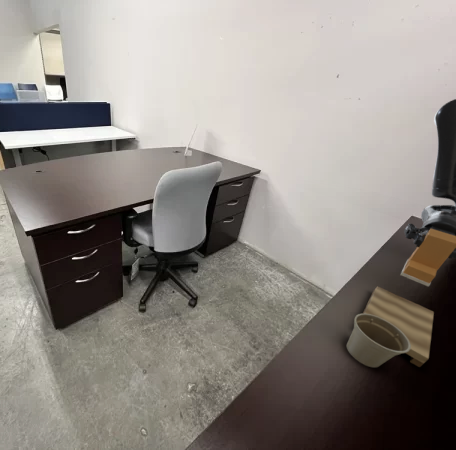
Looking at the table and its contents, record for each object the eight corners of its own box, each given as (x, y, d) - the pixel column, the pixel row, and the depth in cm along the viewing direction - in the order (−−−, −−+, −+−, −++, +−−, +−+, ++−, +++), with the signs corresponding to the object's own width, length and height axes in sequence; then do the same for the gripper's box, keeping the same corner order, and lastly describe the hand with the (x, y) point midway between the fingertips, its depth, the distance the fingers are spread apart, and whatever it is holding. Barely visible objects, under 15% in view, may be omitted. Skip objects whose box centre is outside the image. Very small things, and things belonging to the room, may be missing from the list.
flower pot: (390, 357, 55) (412, 333, 51) (385, 386, 49) (409, 362, 45) (343, 330, 61) (359, 306, 57) (333, 353, 55) (350, 329, 51)
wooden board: (370, 295, 73) (377, 286, 71) (424, 322, 65) (434, 311, 63) (353, 332, 61) (361, 321, 59) (417, 369, 53) (428, 358, 51)
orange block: (406, 260, 69) (430, 227, 64) (432, 270, 66) (460, 236, 60) (400, 274, 63) (425, 239, 58) (428, 286, 60) (458, 250, 54)
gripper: (415, 209, 73) (406, 224, 63) (488, 229, 63) (490, 251, 53) (401, 230, 76) (390, 248, 67) (468, 252, 67) (467, 276, 57)
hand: (435, 249), depth 60 cm, fingers closed on orange block, 5 cm apart
